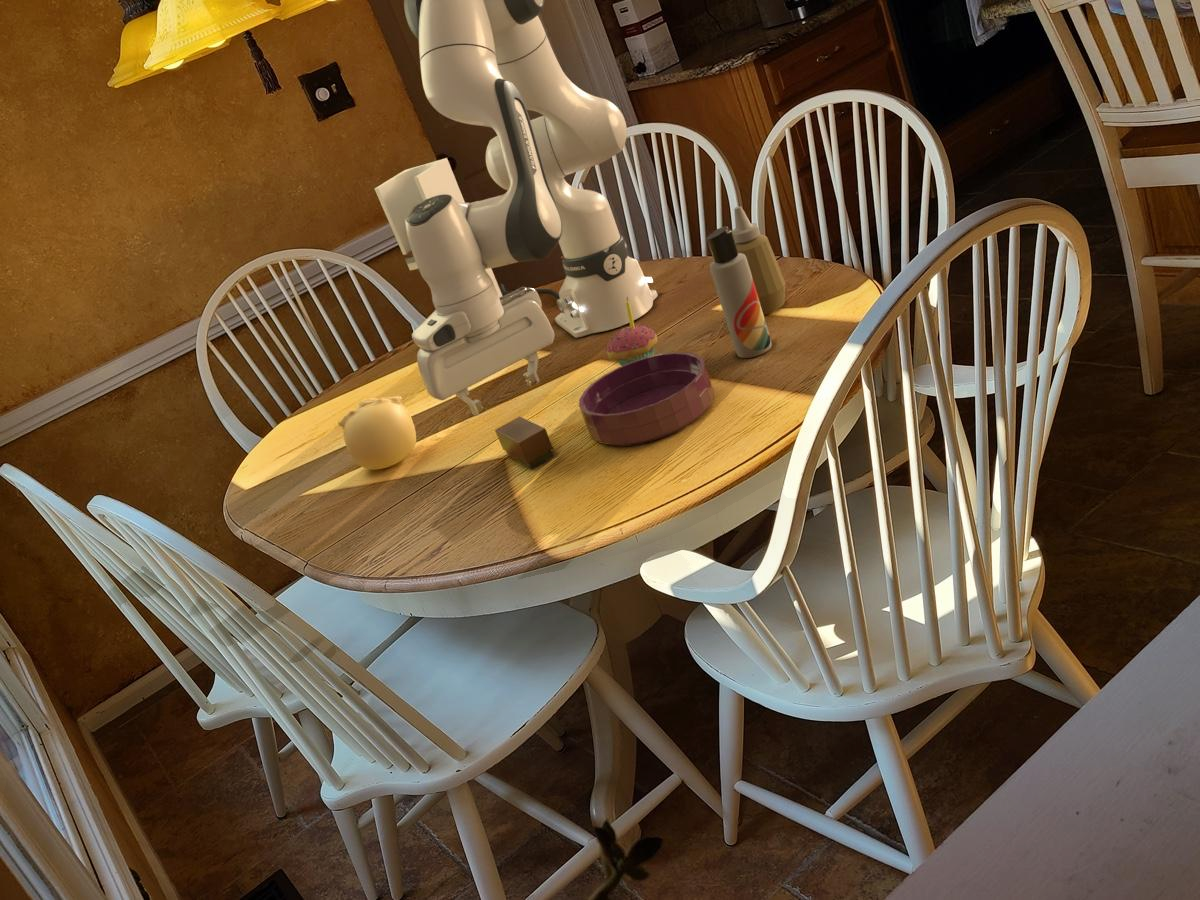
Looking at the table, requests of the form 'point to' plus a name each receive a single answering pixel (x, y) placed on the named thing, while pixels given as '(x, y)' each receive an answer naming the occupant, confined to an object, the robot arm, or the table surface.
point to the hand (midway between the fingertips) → (506, 398)
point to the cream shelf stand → (417, 200)
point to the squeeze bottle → (759, 262)
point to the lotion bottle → (738, 295)
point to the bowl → (647, 399)
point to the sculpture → (379, 432)
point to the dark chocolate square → (525, 442)
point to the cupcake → (631, 342)
